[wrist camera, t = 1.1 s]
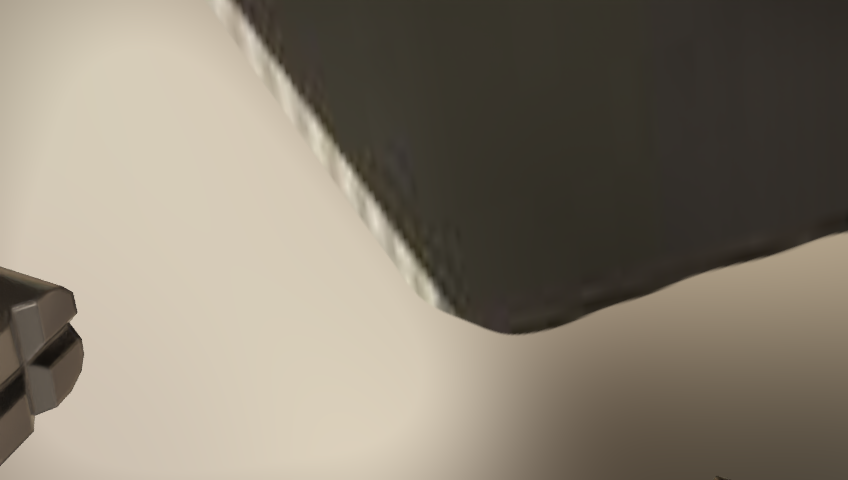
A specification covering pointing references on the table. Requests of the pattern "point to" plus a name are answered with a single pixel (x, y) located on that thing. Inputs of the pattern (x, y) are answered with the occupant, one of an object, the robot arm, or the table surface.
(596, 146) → the table surface
